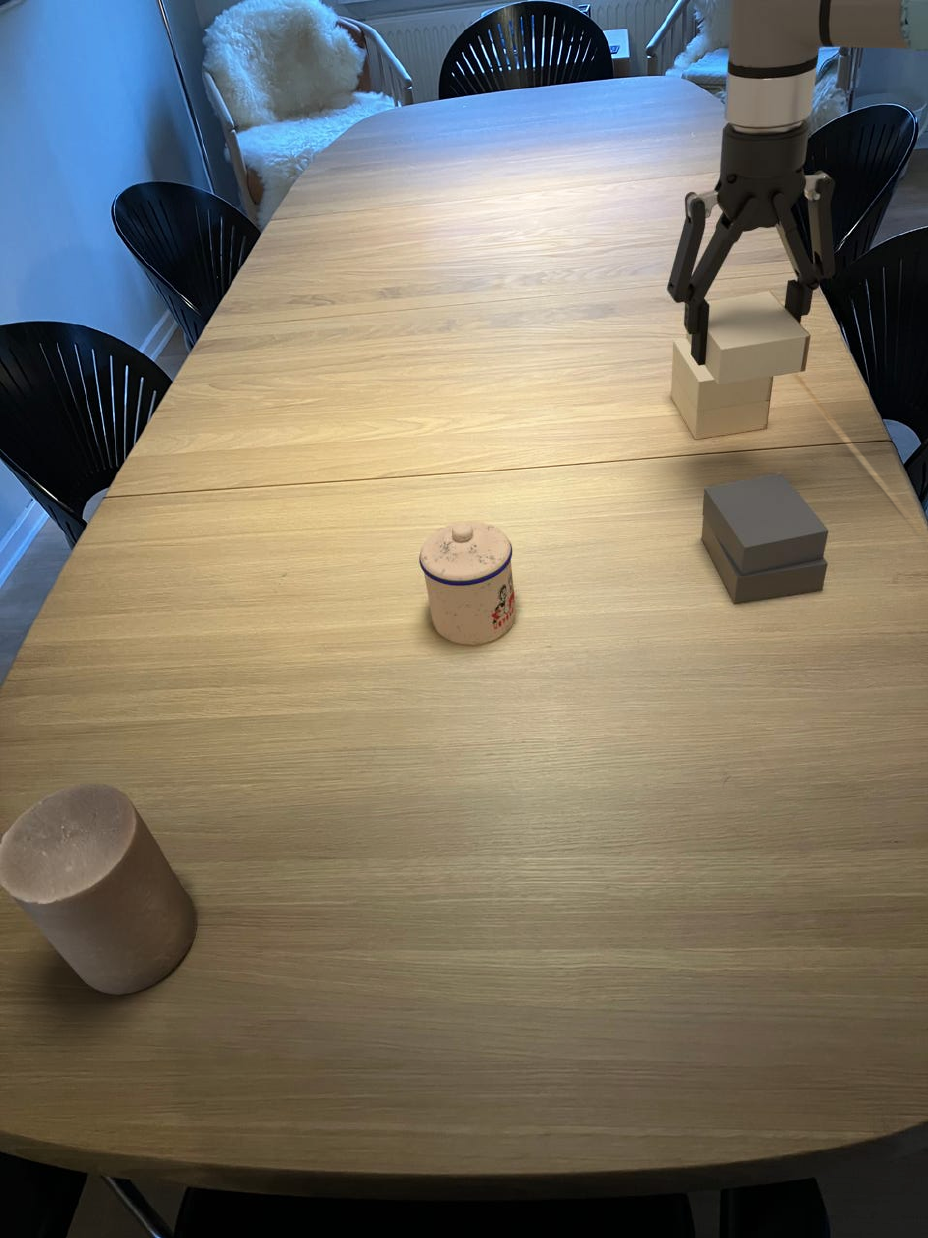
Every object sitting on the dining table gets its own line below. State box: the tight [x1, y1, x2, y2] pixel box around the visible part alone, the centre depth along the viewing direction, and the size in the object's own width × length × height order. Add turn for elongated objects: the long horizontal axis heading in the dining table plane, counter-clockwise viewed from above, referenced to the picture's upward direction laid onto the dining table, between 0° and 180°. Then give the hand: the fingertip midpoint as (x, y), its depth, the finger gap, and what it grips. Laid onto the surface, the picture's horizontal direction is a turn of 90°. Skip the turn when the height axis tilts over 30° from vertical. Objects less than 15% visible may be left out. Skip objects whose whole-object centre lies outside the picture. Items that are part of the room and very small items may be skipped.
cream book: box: [685, 291, 811, 385], centre depth 97 cm, size 9×11×4 cm
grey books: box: [700, 472, 829, 605], centre depth 94 cm, size 9×11×7 cm
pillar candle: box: [0, 782, 198, 996], centre depth 67 cm, size 10×10×15 cm
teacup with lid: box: [418, 521, 517, 646], centre depth 92 cm, size 12×9×12 cm
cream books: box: [670, 338, 775, 440], centre depth 116 cm, size 9×11×8 cm
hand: (743, 351), depth 98 cm, fingers closed on cream book, 9 cm apart
